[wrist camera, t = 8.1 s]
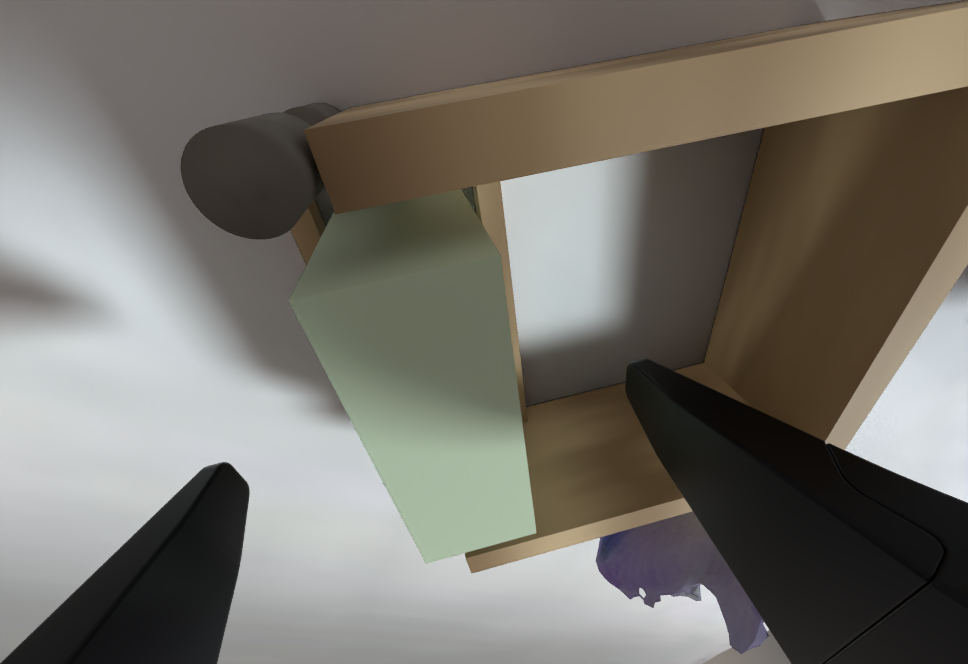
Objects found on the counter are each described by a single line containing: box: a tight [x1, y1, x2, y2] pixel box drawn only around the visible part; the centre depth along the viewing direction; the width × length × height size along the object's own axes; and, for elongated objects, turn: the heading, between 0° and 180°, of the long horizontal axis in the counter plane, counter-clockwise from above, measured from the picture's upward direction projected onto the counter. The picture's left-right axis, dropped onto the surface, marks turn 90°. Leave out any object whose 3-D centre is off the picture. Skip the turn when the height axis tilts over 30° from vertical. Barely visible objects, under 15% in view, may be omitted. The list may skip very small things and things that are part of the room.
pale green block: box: [288, 189, 536, 564], centre depth 10 cm, size 4×8×6 cm, turn 8°
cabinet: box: [181, 0, 968, 573], centre depth 10 cm, size 14×12×6 cm
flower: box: [596, 511, 769, 654], centre depth 16 cm, size 9×9×10 cm
